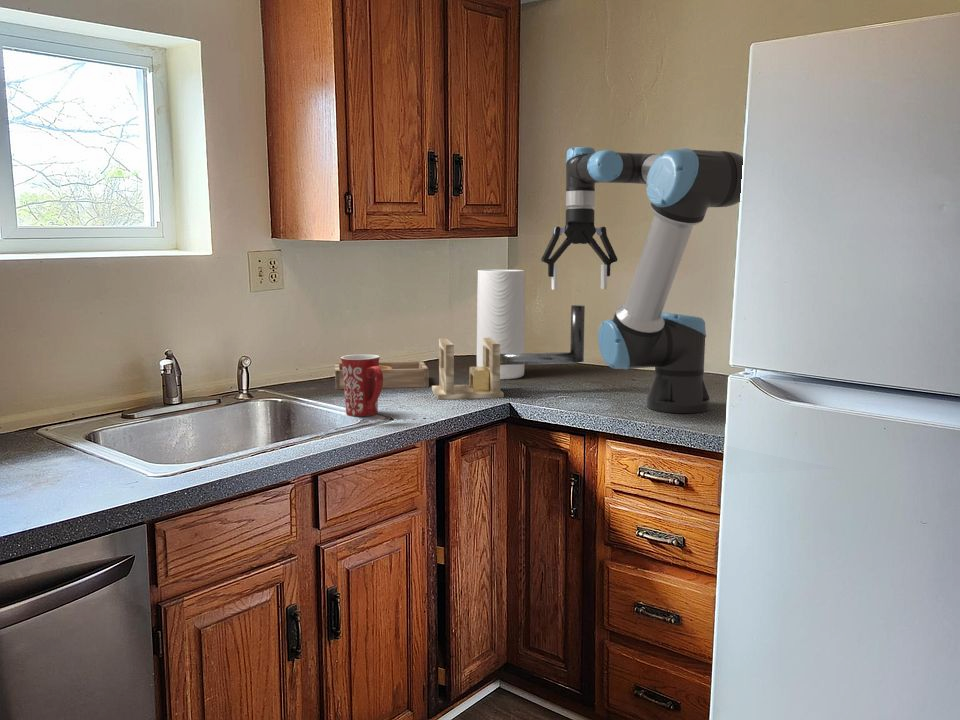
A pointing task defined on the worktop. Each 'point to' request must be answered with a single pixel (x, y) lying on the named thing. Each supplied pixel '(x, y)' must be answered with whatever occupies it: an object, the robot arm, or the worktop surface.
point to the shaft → (555, 358)
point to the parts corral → (395, 375)
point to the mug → (362, 384)
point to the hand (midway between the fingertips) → (579, 289)
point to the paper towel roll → (502, 315)
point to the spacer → (479, 378)
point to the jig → (464, 391)
